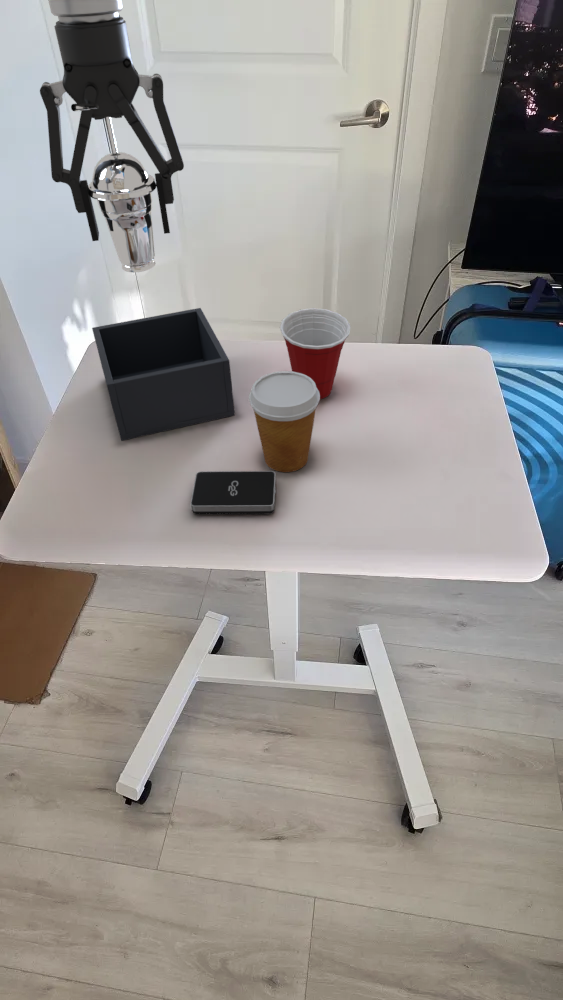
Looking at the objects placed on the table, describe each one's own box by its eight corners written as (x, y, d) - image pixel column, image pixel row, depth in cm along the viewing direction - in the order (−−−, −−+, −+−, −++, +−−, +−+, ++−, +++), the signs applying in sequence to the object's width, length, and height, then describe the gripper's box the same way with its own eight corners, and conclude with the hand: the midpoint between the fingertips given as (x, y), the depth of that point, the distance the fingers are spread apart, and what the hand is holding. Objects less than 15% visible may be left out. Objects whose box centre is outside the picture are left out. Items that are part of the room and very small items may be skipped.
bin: (121, 441, 95) (106, 384, 88) (105, 380, 108) (91, 327, 101) (235, 415, 99) (229, 359, 92) (207, 360, 111) (200, 307, 105)
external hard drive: (198, 482, 88) (196, 471, 86) (277, 481, 87) (276, 470, 86) (191, 517, 82) (189, 506, 81) (275, 516, 82) (274, 505, 81)
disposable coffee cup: (331, 450, 92) (333, 380, 83) (297, 488, 86) (295, 417, 78) (276, 431, 96) (273, 362, 87) (240, 466, 90) (233, 396, 82)
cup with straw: (181, 265, 84) (153, 92, 71) (121, 286, 81) (78, 107, 67) (151, 247, 89) (119, 82, 76) (93, 266, 86) (48, 95, 72)
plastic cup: (299, 417, 98) (298, 349, 90) (271, 383, 105) (268, 317, 97) (359, 399, 101) (364, 331, 93) (329, 367, 108) (330, 302, 100)
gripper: (186, 6, 70) (209, 215, 86) (-10, 19, 68) (50, 231, 84) (191, 14, 65) (215, 235, 81) (-21, 28, 63) (46, 253, 78)
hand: (131, 233), depth 82 cm, fingers closed on cup with straw, 8 cm apart
